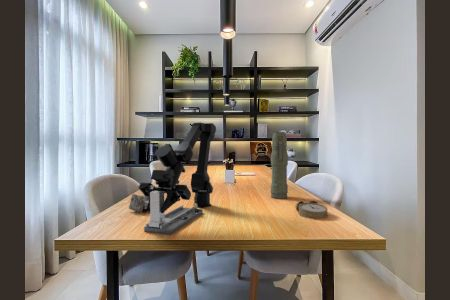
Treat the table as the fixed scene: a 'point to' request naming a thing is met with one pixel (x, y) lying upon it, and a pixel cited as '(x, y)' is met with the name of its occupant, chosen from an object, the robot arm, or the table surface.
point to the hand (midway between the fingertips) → (155, 212)
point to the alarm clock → (311, 210)
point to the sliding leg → (157, 209)
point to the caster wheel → (139, 202)
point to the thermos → (279, 166)
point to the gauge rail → (175, 220)
